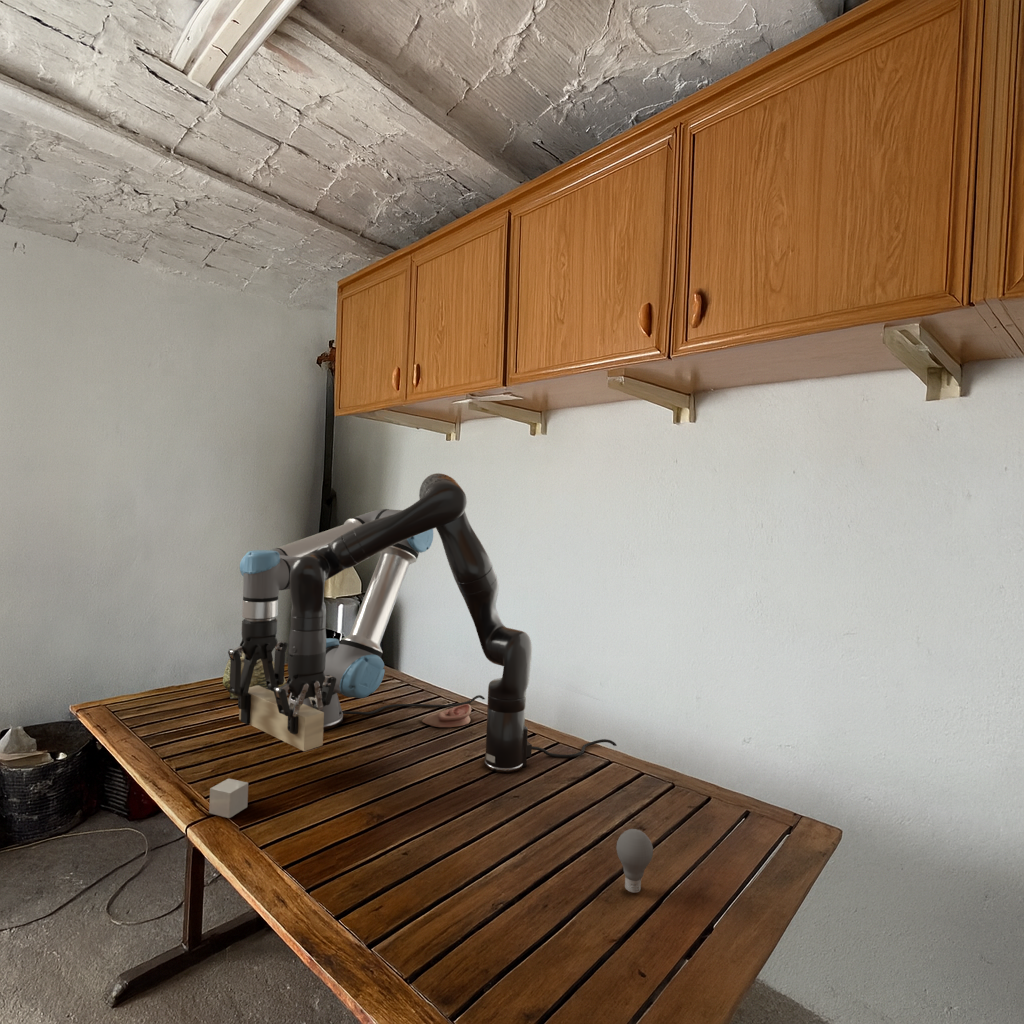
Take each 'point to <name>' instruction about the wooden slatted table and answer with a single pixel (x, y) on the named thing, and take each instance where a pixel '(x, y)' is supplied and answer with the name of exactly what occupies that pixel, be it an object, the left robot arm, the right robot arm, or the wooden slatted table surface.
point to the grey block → (228, 798)
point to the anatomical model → (450, 717)
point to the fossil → (256, 679)
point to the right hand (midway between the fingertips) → (304, 729)
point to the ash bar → (285, 720)
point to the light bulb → (634, 857)
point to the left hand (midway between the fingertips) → (256, 719)
